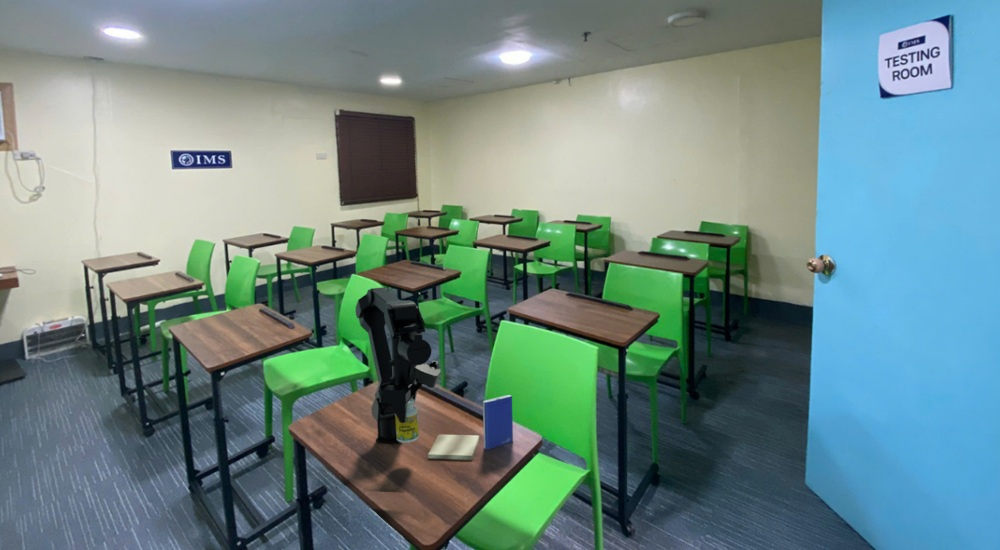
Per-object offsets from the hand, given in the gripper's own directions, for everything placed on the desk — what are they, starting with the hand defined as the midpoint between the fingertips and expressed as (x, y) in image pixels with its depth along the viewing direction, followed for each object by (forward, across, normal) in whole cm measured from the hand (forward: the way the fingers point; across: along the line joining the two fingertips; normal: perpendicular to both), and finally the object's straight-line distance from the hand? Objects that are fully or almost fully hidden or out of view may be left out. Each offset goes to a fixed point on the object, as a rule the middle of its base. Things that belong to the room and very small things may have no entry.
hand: (406, 417), depth 114 cm
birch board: (+11, +7, -10) cm, 17 cm away
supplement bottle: (+6, 0, 0) cm, 6 cm away
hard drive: (+11, +10, -21) cm, 26 cm away
